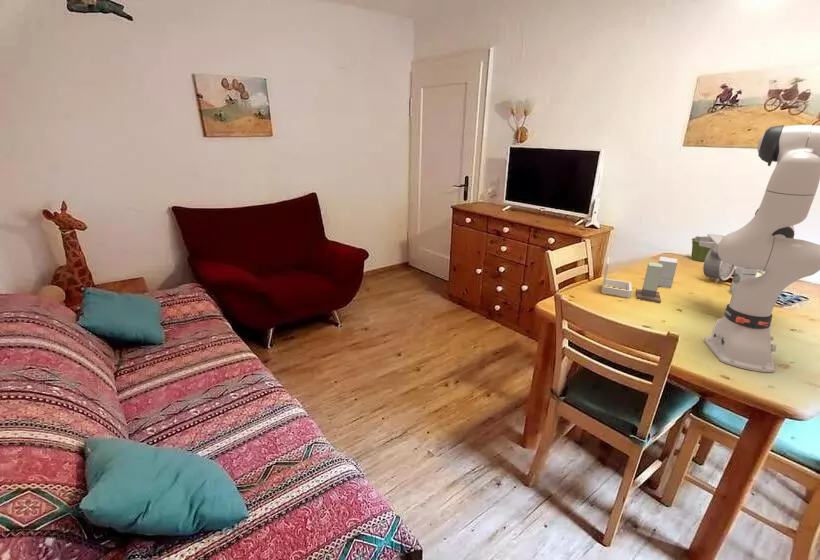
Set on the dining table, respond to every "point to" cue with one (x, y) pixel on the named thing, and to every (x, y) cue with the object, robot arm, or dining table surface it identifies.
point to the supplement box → (667, 271)
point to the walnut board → (651, 299)
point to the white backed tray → (616, 284)
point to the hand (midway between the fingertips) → (697, 240)
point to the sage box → (652, 279)
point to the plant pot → (699, 251)
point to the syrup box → (742, 276)
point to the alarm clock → (717, 267)
